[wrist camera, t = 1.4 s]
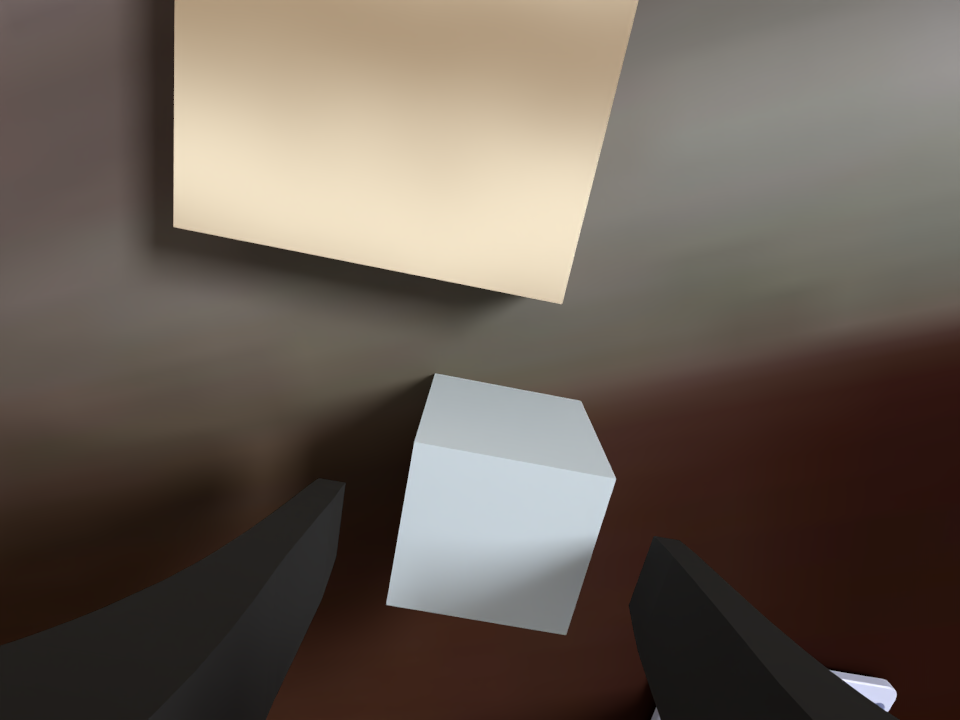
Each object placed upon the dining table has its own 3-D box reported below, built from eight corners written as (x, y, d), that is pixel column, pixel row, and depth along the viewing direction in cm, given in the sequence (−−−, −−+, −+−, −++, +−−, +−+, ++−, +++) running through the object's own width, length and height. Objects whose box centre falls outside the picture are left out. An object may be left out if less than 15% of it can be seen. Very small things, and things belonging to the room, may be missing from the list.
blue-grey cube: (546, 522, 17) (566, 635, 12) (412, 498, 17) (385, 605, 12) (580, 400, 15) (615, 479, 11) (435, 372, 15) (414, 441, 11)
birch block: (547, 282, 15) (562, 304, 12) (237, 220, 14) (173, 226, 11) (637, -92, 12) (685, -183, 9) (254, -183, 11) (175, -308, 9)
